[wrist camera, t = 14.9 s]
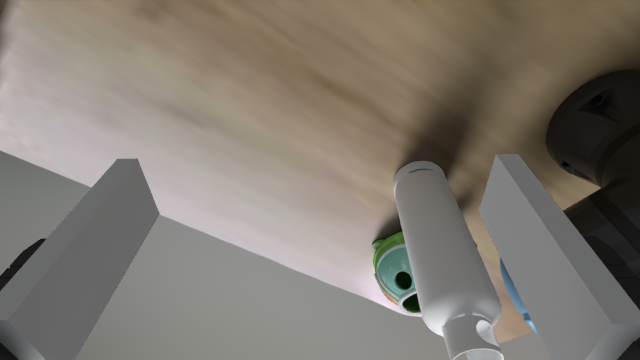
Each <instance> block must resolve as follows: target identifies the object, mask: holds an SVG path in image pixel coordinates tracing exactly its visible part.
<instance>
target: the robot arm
mask: <svg viewBox="0 0 640 360" xmlns="http://www.w3.org/2000/svg"><path fill="white" fill-rule="evenodd" d="M546 146H547V149H548V152H549V154H550V156H551V157H552V158H553V159H554V160H555V161H556V163H557V164H558V165H559V166H560V167H561V168H563V169H564V170H565V171H567V172H569V173H570V174H573V175H575V176H577V177H580V178H582V179H584V180H586V181H589V182H591V183H593V184H596V185H598V186H600V187H601V189H599V190H598V191H596V192H594V193H593V194H591V195H589V196H587V197H586V198H584V199H582V200H581V201H579V202H577V203H575V204H574V205H572V206H570V207H569V208H567V209H565V210H563V211H562V210H561V208H560V207H559V206H558V205H557V203H556V202H555V201H554V199H553V198H552V197H551V196H550V194H549V193H548V192H547V190H546V189H545V188H544V187H543V185H542V184H541V183H540V181H539V180H538V179H537V178H536V176H535V175H534V174H533V172H532V171H531V170H530V169H529V167H528V166H527V165H526V163H525V162H524V161H523V160H522V158H521V157H520V156H519V154H496V156H495V159H494V162H493V166H492V169H491V172H490V176H489V179H488V182H487V185H486V189H485V192H484V195H483V199H482V202H481V205H480V209H479V214H480V216H481V218H482V220H483V222H484V224H485V226H486V228H487V230H488V232H489V234H490V237H491V239H492V241H493V243H494V245H495V247H496V249H497V251H498V253H499V255H500V269H501V274H502V278H503V281H504V284H505V286H506V289H507V291H508V293H509V295H510V297H511V299H512V301H513V303H514V305H515V307H516V308H517V310H518V311H519V312H520V313H522V314H523V317H524V319H525V322H526V323H527V324H528V325H529V327H530V328H531V329H532V330H533V331H534V332H535V333H536V334H538V335H539V336H540V338H541V340H542V342H543V344H544V347H545V349H546V351H547V352H548V355H549V357H550V359H551V360H640V70H624V71H618V72H614V73H610V74H607V75H605V76H602V77H600V78H597V79H595V80H593V81H591V82H589V83H588V84H586V85H584V86H583V87H581V88H580V89H579V90H577V91H576V92H575V93H573V94H572V95H571V96H570V97H569V98H568V99H567V100H566V101H565V102H564V103H563V104H562V105H561V106H560V107H559V109H558V110H557V111H556V113H555V114H554V116H553V118H552V120H551V122H550V124H549V127H548V130H547V134H546ZM158 216H159V211H158V209H157V206H156V204H155V201H154V199H153V196H152V194H151V191H150V189H149V186H148V184H147V181H146V179H145V176H144V174H143V171H142V169H141V166H140V164H139V161H138V159H117V160H116V161H115V162H114V163H113V165H112V166H111V167H110V168H109V169H108V170H107V171H106V172H105V174H104V175H103V176H102V177H101V178H100V179H99V180H98V181H97V183H96V184H95V185H94V186H93V187H92V188H91V190H90V191H89V192H88V193H87V194H86V195H85V196H84V197H83V198H82V200H81V201H80V202H79V203H78V204H77V205H76V206H75V208H74V209H73V210H72V211H71V212H70V213H69V214H68V215H67V216H66V218H65V219H64V220H63V221H62V222H61V223H60V224H59V225H58V227H57V228H56V229H55V230H54V231H53V232H52V233H51V235H50V236H49V237H48V238H47V239H40V240H38V241H37V242H36V243H34V244H33V245H31V246H30V247H28V248H27V249H26V250H24V251H23V252H22V253H21V254H20V255H19V256H18V257H17V259H16V260H15V261H14V262H13V263H12V264H11V265H10V268H7V269H6V270H5V272H4V273H3V274H2V275H1V276H0V360H75V358H76V356H77V355H78V353H79V352H80V350H81V348H82V346H83V345H84V343H85V341H86V339H87V338H88V336H89V334H90V333H91V331H92V329H93V328H94V326H95V324H96V322H97V321H98V319H99V317H100V315H101V314H102V312H103V310H104V309H105V307H106V305H107V303H108V302H109V300H110V298H111V296H112V295H113V293H114V291H115V290H116V288H117V286H118V284H119V283H120V281H121V279H122V278H123V276H124V274H125V272H126V271H127V269H128V267H129V266H130V264H131V262H132V260H133V259H134V257H135V255H136V253H137V252H138V250H139V248H140V247H141V245H142V243H143V242H144V240H145V238H146V236H147V235H148V233H149V231H150V230H151V228H152V226H153V224H154V223H155V221H156V219H157V217H158Z"/></svg>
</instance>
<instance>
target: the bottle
mask: <svg viewBox="0 0 640 360" xmlns="http://www.w3.org/2000/svg"><path fill="white" fill-rule="evenodd" d="M417 169H430V170H417ZM414 170H417V171H414ZM411 171H414V172H412V173H409V172H411ZM393 191H394V195H395V200H396V204H397V209H398V213H399V218H400V222H401V226H402V231H403V235H404V240H405V244H406V248H407V253H408V257H409V262H410V266H411V270H412V275H413V279H414V283H415V288H416V292H417V297H418V301H419V305H420V310H421V314H422V318H423V320H424V322H425V323H426V325H427V326H428V327H429V329H431V330H432V331H433V332H435V333H436V334H438V335H441V336H443V337H444V339H445V342H446V345H447V349H448V354H449V357H450V360H454V359H455V358H456V357H457V356H459V355H460V354H462V353H464V352H465V354H466V355H467V360H504V357H503V354H502V352H501V349H500V347H499V345H498V343H497V340H496V336H495V334H494V331H493V329H492V328H493V326H494V325H495V324H496V323H497V321H498V320H499V318H500V314H501V303H500V300H499V297H498V295H497V293H496V290H495V288H494V286H493V284H492V281H491V279H490V277H489V275H488V272H487V270H486V268H485V265H484V263H483V261H482V259H481V256H480V254H479V252H478V249H477V247H476V245H475V243H474V240H473V238H472V236H471V234H470V231H469V229H468V227H467V224H466V222H465V220H464V218H463V215H462V213H461V211H460V208H459V206H458V204H457V202H456V199H455V197H454V195H453V193H452V190H451V188H450V186H449V183H448V181H447V179H446V177H445V174H444V172H443V170H442V169H441V168H440V167H439V166H438V165H437V164H434V163H432V162H429V161H415V162H412V163H409V164H407V165H405V166H404V167H402V168H401V169H399V171H398V172H397V173H396V174H395V176H394V179H393ZM483 334H484V335H483ZM481 335H482V336H481Z"/></svg>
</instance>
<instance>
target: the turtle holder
mask: <svg viewBox="0 0 640 360" xmlns="http://www.w3.org/2000/svg"><path fill="white" fill-rule="evenodd" d="M400 225H401V222H400ZM474 243H475V242H474ZM475 245H476V244H475ZM372 247H373V248H375V249H377V250H376V252H375V255H374V259H373V264H374V267H375V272H376V273H375V278H376V280H377V282H378V285H379V287H380V289H381V290H382V292H383V293H384V295H385V296H386V297H387V298H388V299H389V300H390V301H392V302H393V303H395V304H397V305H398V306H399V308H400V309H401V310H402V311H404V312H406V313H408V314H411V315H419V314H421V310H420V305H419V301H418V297H417V292H416V288H415V283H414V279H413V275H412V270H411V266H410V262H409V257H408V253H407V248H406V244H405V240H404V235H403V231H402V232H399V233H396V234H394V235H392V236H390V237H389V238H387V239H386V240H385V239H379V240H377V241H375V242H374V243H373V244H372ZM476 247H477V245H476Z"/></svg>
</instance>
